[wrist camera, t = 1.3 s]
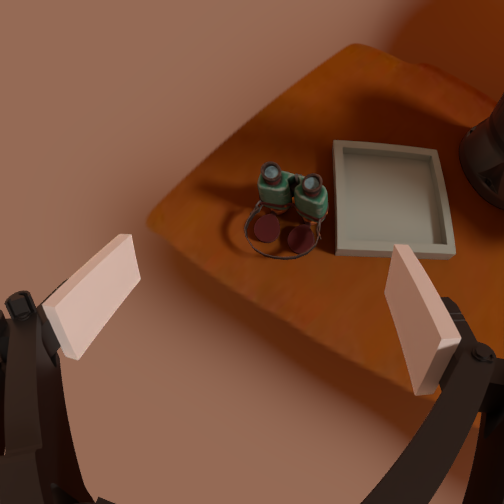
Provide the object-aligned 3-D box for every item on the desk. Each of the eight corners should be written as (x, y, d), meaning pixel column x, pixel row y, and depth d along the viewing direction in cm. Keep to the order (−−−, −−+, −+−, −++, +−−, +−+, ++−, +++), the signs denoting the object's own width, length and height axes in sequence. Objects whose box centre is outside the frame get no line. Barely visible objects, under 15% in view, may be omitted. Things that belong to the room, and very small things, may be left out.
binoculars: (223, 230, 31) (258, 145, 32) (244, 253, 41) (270, 185, 42) (311, 259, 29) (340, 167, 30) (310, 276, 39) (333, 204, 40)
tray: (431, 159, 41) (436, 149, 38) (447, 259, 36) (455, 253, 34) (332, 150, 43) (333, 139, 41) (335, 255, 38) (337, 248, 36)
